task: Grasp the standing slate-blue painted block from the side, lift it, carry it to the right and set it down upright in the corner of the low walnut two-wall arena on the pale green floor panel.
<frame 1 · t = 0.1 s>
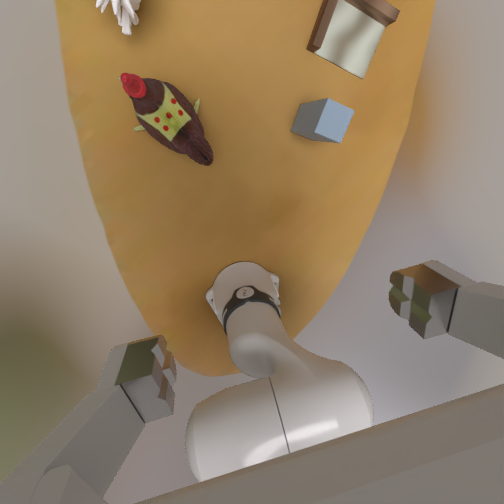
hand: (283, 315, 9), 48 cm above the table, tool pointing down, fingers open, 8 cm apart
figurine: (170, 126, 48), on the table
arena: (342, 34, 46), on the table
figurine 2: (135, 6, 40), on the table
block: (306, 122, 52), on the table
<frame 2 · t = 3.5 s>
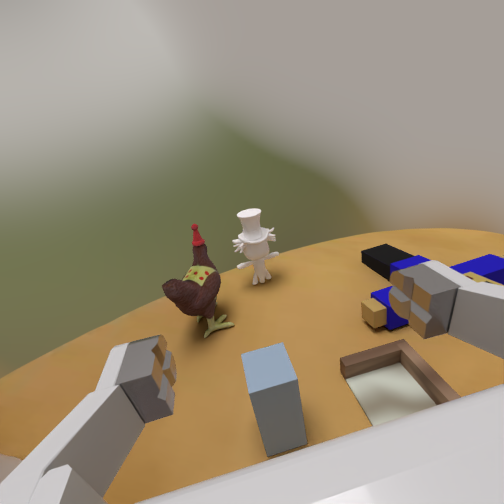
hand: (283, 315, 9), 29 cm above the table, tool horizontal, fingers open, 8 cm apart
figurine: (204, 322, 54), on the table
arena: (393, 396, 34), on the table
figurine 2: (262, 283, 63), on the table
block: (281, 428, 33), on the table
toy: (417, 289, 52), on the table
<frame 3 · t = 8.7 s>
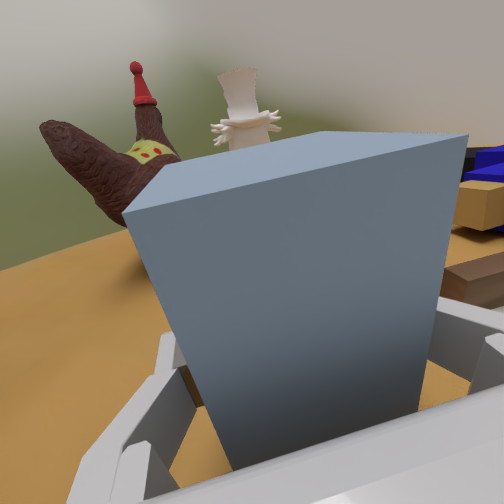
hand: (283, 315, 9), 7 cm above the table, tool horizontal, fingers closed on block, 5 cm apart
figurine: (161, 255, 32), on the table
figurine 2: (260, 209, 41), on the table
block: (308, 444, 11), on the table, touching gripper
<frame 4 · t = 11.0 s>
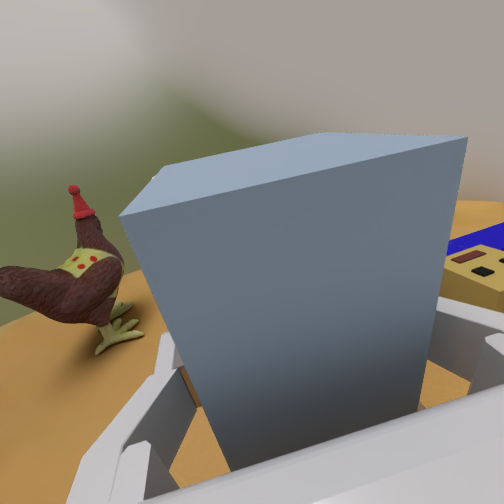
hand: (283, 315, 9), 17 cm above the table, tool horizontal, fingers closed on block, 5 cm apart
figurine: (106, 331, 38), on the table
block: (307, 445, 11), point 11 cm above the table, touching gripper
toy: (404, 275, 37), on the table
when the fingers open (8 cm above the table, at t = 13.7 s): block drops 1 cm, resting on arena.
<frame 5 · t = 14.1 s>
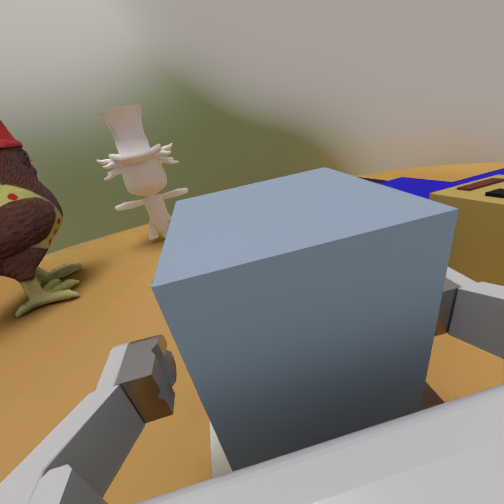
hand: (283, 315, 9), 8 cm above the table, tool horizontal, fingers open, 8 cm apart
figurine: (42, 294, 32), on the table
arena: (310, 459, 12), on the table
figurine 2: (167, 239, 41), on the table
block: (310, 458, 12), resting on arena
toy: (399, 232, 30), on the table
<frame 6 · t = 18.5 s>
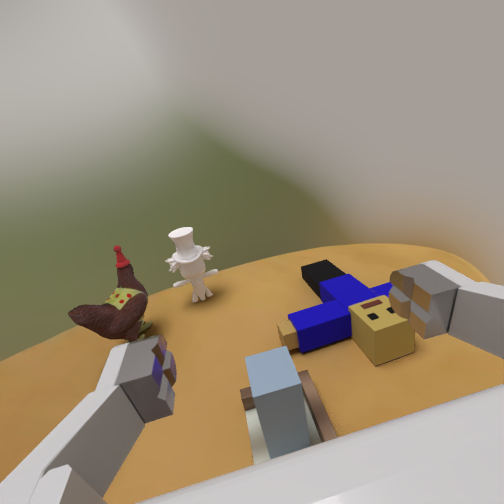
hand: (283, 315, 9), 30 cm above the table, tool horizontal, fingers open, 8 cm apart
figurine: (134, 343, 54), on the table
arena: (284, 432, 33), on the table
figurine 2: (203, 300, 62), on the table
block: (284, 431, 33), resting on arena
toy: (345, 308, 52), on the table
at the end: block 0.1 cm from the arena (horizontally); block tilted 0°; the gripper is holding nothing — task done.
